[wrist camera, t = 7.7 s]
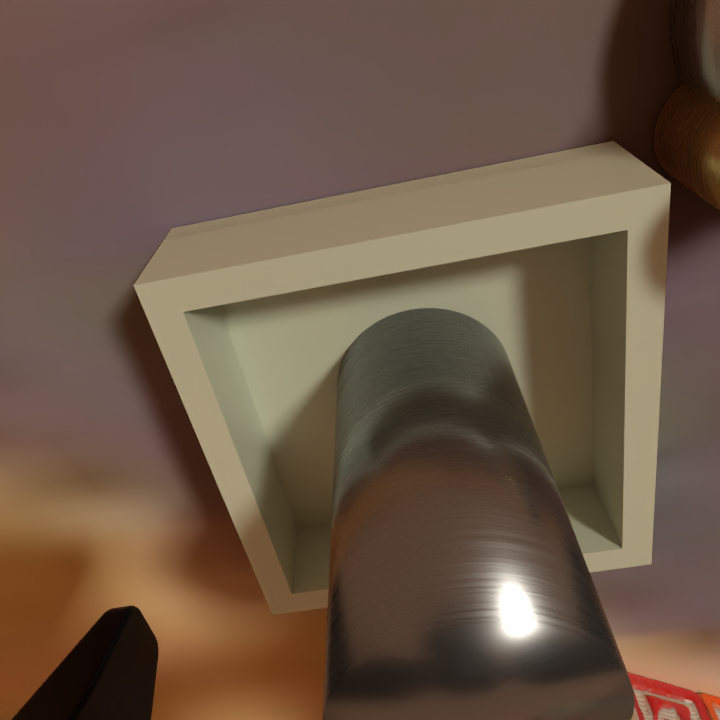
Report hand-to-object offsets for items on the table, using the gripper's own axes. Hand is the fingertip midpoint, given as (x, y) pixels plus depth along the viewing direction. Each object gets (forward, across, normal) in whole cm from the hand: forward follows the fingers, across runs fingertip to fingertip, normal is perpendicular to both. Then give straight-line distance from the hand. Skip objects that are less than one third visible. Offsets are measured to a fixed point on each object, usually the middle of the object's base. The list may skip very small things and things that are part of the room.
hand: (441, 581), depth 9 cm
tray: (+6, 0, 0) cm, 6 cm away
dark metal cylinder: (+5, 0, 0) cm, 5 cm away
